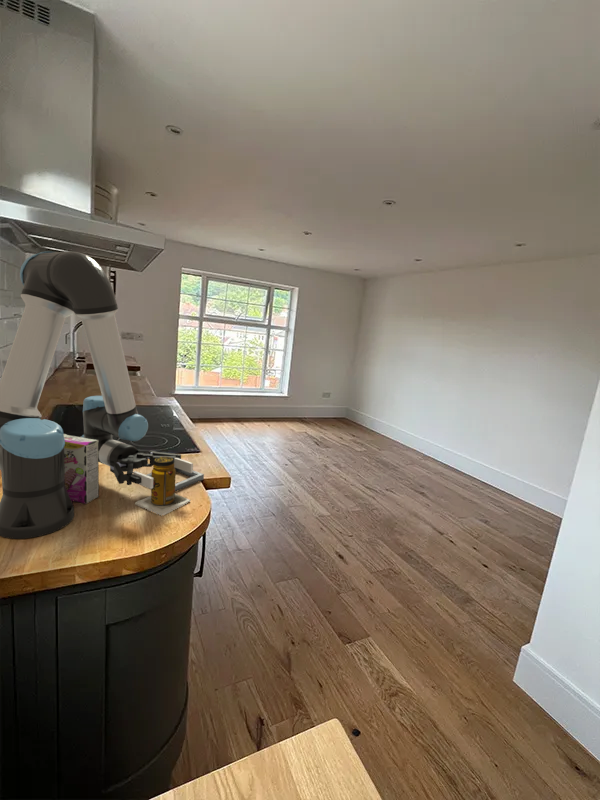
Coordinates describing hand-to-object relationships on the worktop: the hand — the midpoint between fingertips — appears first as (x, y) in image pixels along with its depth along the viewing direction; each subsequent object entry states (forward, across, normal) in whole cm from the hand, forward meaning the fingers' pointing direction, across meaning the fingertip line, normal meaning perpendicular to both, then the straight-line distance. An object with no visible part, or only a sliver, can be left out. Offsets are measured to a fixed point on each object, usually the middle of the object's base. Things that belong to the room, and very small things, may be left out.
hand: (173, 475), depth 98 cm
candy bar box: (-23, +12, -9) cm, 28 cm away
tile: (-3, 0, -9) cm, 10 cm away
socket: (-12, -12, -9) cm, 19 cm away
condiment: (-3, -1, -9) cm, 9 cm away
